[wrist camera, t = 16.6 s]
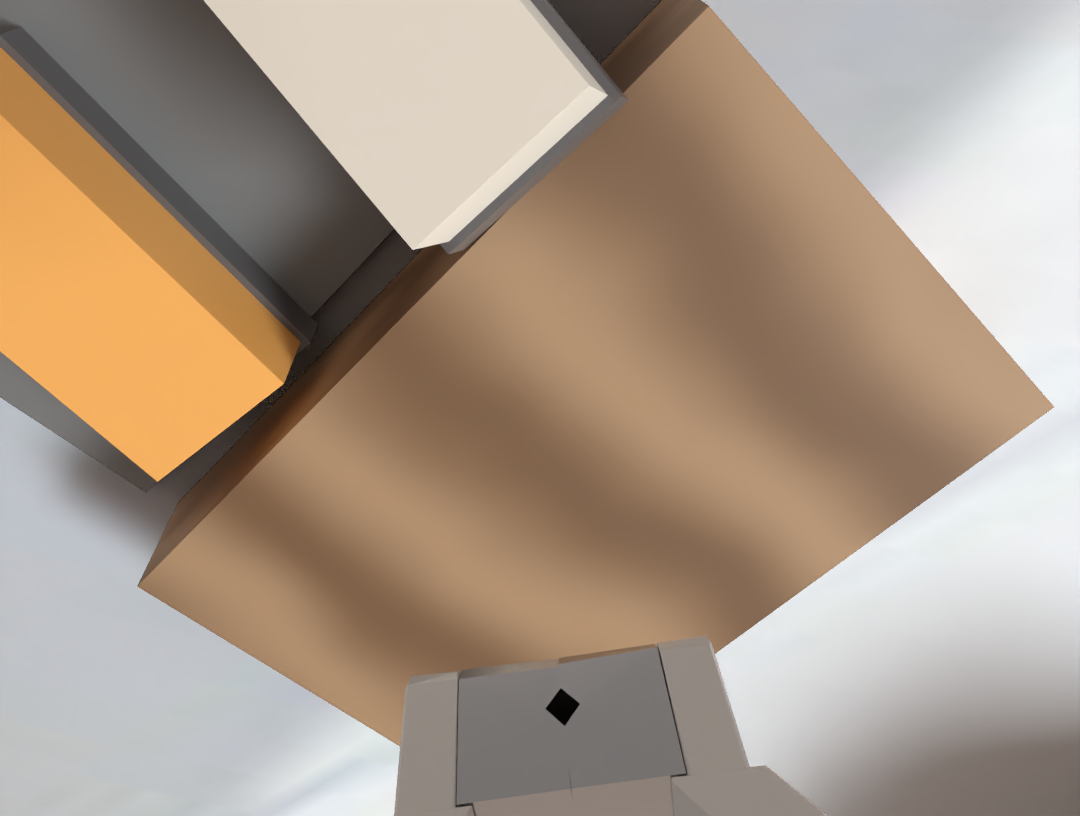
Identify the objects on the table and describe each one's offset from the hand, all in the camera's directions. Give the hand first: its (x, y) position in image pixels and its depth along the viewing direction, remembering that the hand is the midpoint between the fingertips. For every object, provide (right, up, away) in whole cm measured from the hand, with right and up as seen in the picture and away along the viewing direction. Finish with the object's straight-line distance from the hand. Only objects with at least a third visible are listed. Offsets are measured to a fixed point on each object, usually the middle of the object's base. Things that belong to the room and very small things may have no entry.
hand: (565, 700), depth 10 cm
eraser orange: (-12, +7, +16) cm, 21 cm away
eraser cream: (-3, +12, +12) cm, 17 cm away
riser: (+1, +2, +20) cm, 20 cm away
